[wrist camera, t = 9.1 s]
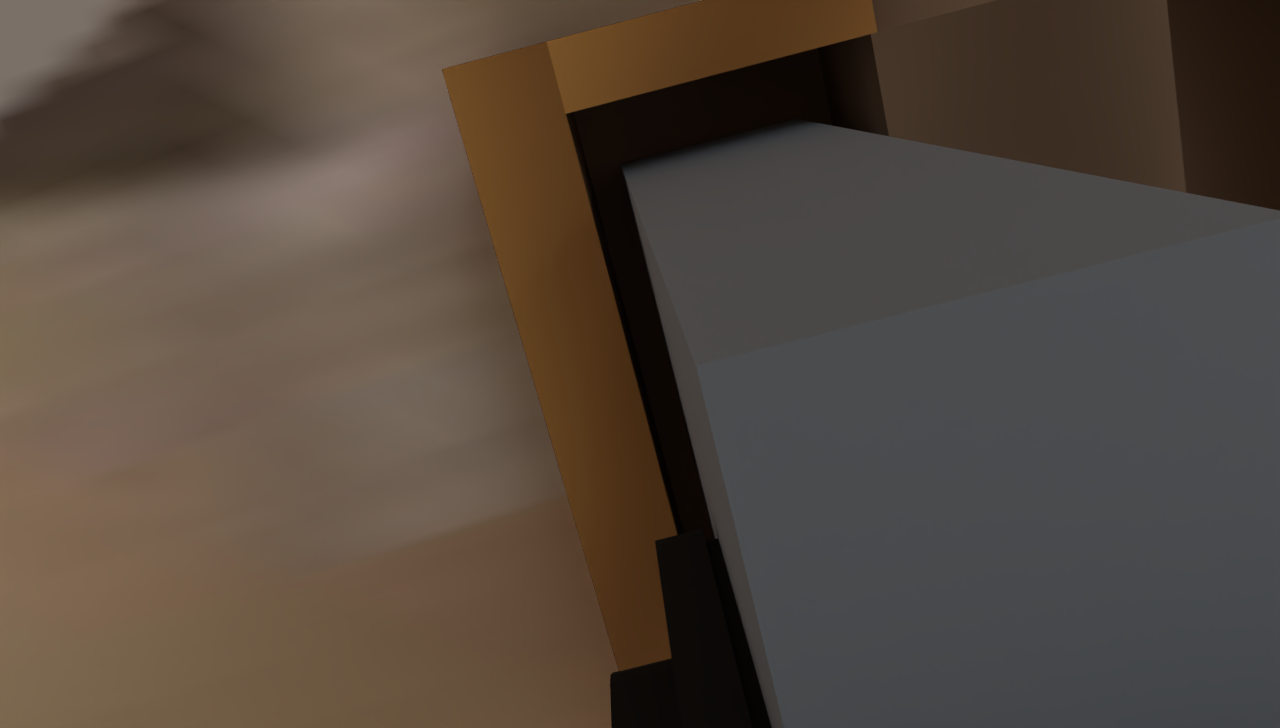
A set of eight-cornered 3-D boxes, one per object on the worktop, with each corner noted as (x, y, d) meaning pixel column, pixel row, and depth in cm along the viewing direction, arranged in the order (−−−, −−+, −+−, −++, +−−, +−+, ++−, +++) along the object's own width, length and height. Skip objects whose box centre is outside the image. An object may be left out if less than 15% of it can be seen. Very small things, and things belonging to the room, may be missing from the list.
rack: (677, 751, 20) (704, 961, 15) (485, 70, 16) (442, 69, 11) (1729, 494, 19) (2094, 629, 14) (1767, -268, 15) (2266, -413, 11)
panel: (775, 783, 16) (1042, 1790, 7) (620, 163, 14) (696, 366, 4) (922, 747, 16) (1401, 1708, 7) (796, 118, 14) (1299, 214, 4)
